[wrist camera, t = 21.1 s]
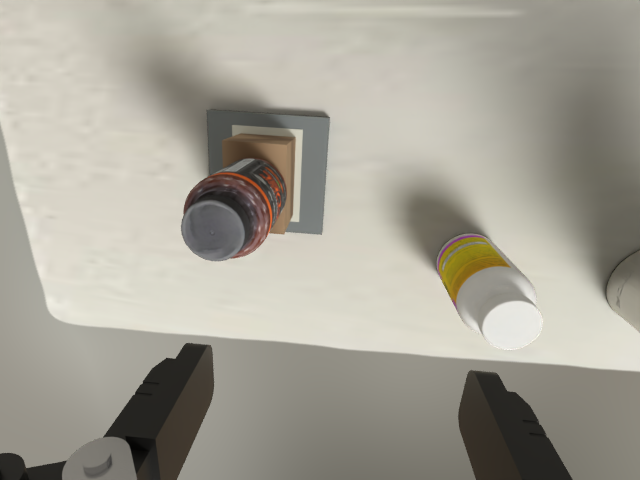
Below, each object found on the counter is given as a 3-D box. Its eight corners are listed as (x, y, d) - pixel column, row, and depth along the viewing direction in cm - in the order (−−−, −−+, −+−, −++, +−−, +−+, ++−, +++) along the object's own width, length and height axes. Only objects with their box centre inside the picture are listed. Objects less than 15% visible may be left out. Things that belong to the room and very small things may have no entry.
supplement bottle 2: (422, 264, 43) (450, 331, 31) (464, 219, 41) (512, 272, 29) (467, 297, 44) (511, 373, 32) (510, 255, 42) (575, 320, 30)
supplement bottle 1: (300, 205, 34) (278, 256, 24) (243, 232, 35) (197, 291, 25) (268, 143, 32) (229, 168, 22) (209, 173, 34) (145, 210, 23)
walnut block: (295, 137, 38) (286, 144, 32) (292, 214, 41) (284, 234, 35) (240, 133, 38) (222, 140, 33) (241, 210, 41) (224, 229, 35)
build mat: (329, 117, 38) (329, 118, 37) (322, 231, 42) (321, 234, 41) (210, 109, 39) (206, 109, 38) (214, 223, 43) (211, 226, 42)
